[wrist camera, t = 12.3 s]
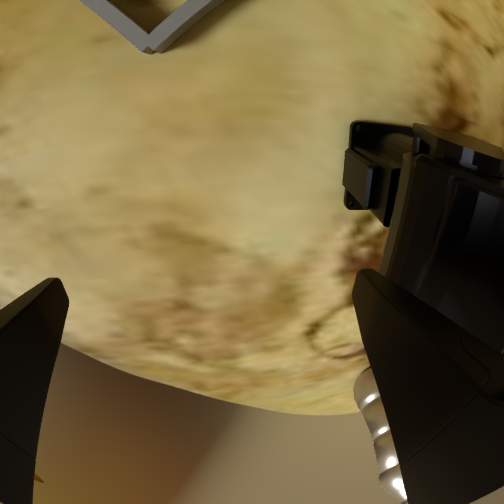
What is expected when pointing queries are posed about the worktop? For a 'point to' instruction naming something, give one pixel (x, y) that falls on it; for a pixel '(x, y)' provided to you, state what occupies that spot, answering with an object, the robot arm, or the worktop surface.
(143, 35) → the grey u-shaped bar
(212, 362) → the worktop surface
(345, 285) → the worktop surface
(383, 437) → the plastic bottle
